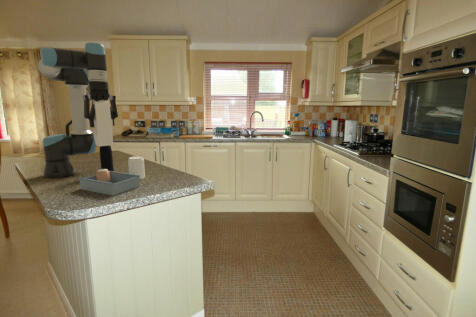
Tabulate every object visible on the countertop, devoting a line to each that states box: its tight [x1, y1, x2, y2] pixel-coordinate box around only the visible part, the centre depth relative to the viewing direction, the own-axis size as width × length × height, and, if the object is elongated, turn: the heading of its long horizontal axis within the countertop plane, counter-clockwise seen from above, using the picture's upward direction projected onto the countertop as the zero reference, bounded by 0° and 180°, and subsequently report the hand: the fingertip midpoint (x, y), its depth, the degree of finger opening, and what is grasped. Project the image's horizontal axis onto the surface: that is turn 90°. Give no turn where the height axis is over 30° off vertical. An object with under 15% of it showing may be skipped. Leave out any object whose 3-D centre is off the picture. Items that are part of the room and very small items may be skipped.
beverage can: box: [127, 155, 146, 180], centre depth 149 cm, size 8×8×12 cm
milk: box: [90, 99, 114, 147], centre depth 121 cm, size 6×6×22 cm
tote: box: [78, 170, 141, 197], centre depth 132 cm, size 22×16×6 cm
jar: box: [95, 168, 110, 182], centre depth 135 cm, size 6×6×8 cm
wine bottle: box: [99, 145, 115, 172], centre depth 156 cm, size 6×6×30 cm
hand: (103, 134), depth 123 cm, fingers closed on milk, 7 cm apart
